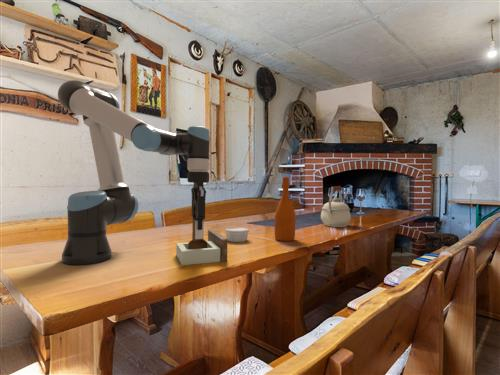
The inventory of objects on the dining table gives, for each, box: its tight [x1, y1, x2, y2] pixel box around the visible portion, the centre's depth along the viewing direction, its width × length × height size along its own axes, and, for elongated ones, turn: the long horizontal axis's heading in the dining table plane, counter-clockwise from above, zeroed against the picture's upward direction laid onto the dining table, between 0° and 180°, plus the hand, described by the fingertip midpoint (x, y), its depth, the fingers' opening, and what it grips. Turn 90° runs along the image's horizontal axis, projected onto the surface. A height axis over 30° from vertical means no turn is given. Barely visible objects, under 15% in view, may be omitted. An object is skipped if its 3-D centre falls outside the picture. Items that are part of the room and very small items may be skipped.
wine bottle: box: [274, 176, 296, 242], centre depth 140 cm, size 10×10×30 cm
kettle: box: [320, 185, 352, 228], centre depth 186 cm, size 25×18×25 cm
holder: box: [175, 240, 221, 266], centre depth 104 cm, size 13×13×4 cm
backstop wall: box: [207, 229, 228, 263], centre depth 110 cm, size 2×20×8 cm, turn 21°
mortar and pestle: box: [188, 200, 207, 249], centre depth 104 cm, size 7×6×18 cm
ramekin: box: [224, 227, 250, 243], centre depth 138 cm, size 11×11×5 cm
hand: (197, 237), depth 104 cm, fingers closed on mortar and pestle, 4 cm apart
